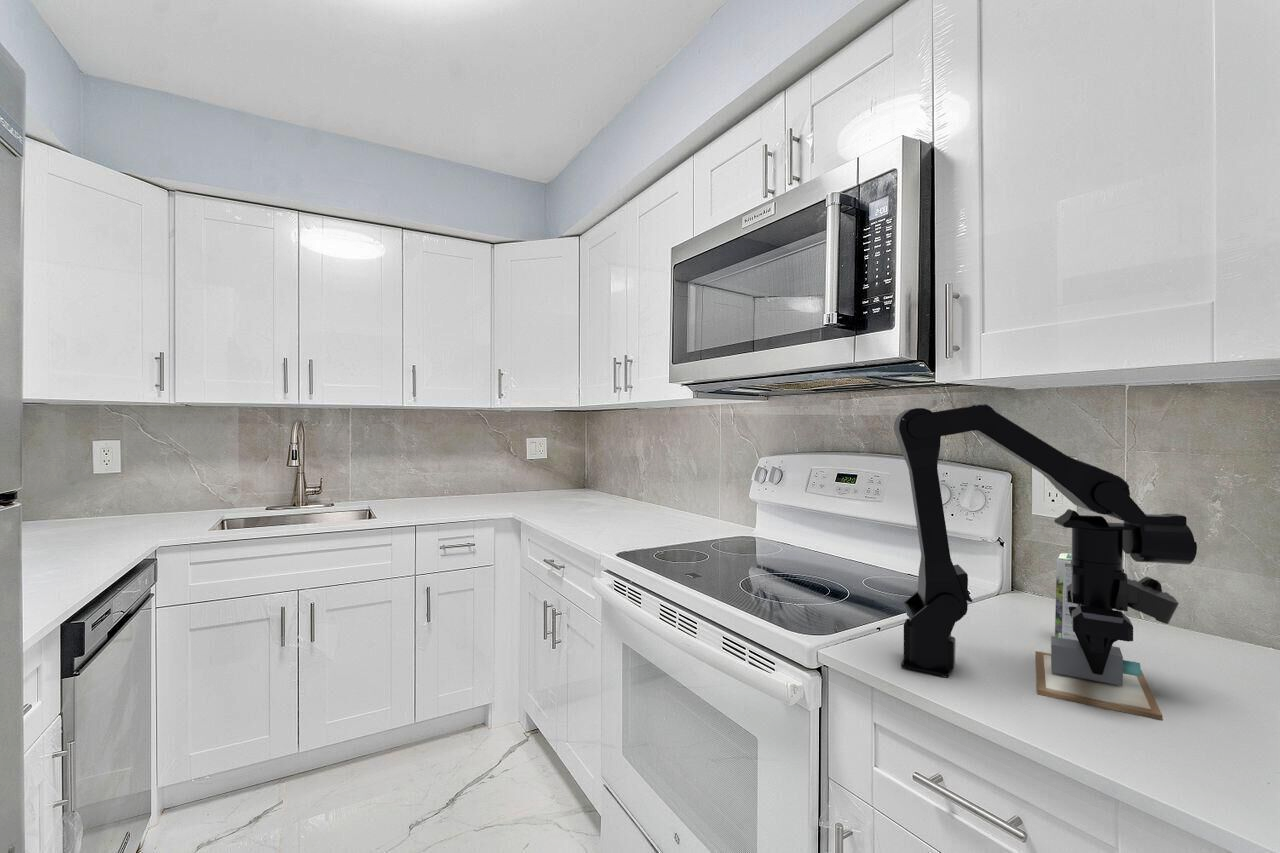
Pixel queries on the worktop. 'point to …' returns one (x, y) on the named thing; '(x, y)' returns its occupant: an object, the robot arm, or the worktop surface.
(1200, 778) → the worktop surface
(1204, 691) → the worktop surface
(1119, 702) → the clipboard
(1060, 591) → the syrup box
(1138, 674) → the gray block
